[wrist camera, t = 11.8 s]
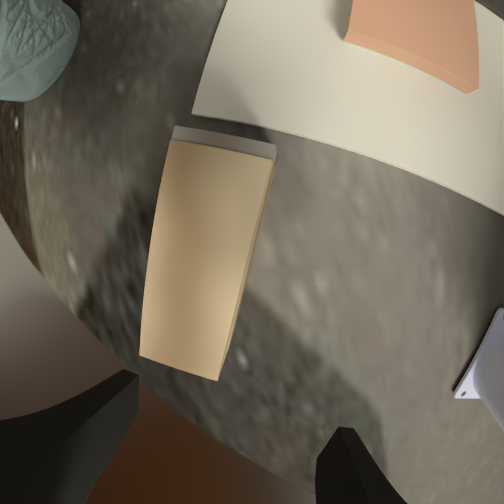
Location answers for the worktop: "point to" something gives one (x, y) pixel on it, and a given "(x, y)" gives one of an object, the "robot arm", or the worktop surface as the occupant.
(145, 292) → the tan wooden block
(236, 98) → the mat
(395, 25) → the tile
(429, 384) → the worktop surface
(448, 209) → the worktop surface
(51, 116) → the worktop surface
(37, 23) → the teal cup
